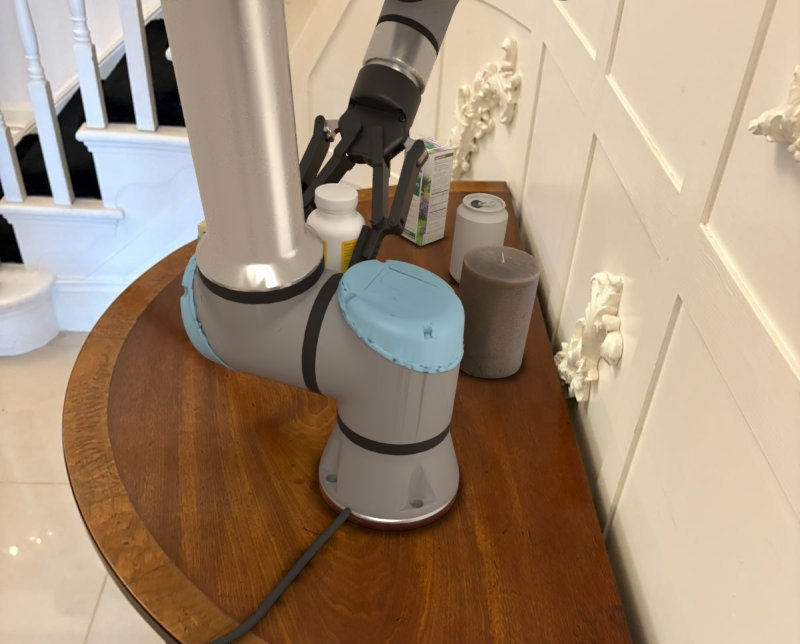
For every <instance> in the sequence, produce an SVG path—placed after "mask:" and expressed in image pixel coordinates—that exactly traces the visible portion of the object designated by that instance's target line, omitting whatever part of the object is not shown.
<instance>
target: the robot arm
mask: <svg viewBox="0 0 800 644" xmlns="http://www.w3.org/2000/svg"><path fill="white" fill-rule="evenodd" d="M559 1H562V2H566V1H568V0H559ZM159 2H160V7H161V11H162V17H163V22H164V26H165V31H166V37H167V41H168V46H169V50H170V51H169V52H170V54H171V55H170V56H171V61H172V65H173V70H174V75H175V81H176V85H177V89H178V95H179V99H180V105H181V108H182V114H183V119H184V125H185V129H186V133H187V138H188V143H189V148H190V153H191V159H192V164H193V168H194V172H195V177H196V182H197V183H196V184H197V187H198V192H199V197H200V203H201V207H202V212H203V216H204V220H205V222H206V227H207V232H206V233H205V234H204V235H203V237H202V238H201V239H200V241H199V242H198V241H197V245H196V247H195V252H194V254H193V255H192V256H191V257H190V258H189V261H188V263H187V265H186V267H185V269H184V272H183V276H182V280H181V286H182V287H183V288H184V293H183V294H182V295H181V296H180V301H179V302H180V313H181V319H182V323H183V327H184V330H185V332H186V334H187V336H188V339H189V341H190V342H191V344H192V345H193V347H194V348H195V349H196V351H197V352H198V353H199V354H201V356H203V357H204V358H206V359H208V360H210V361H212V362H214V363H217V364H219V365H222V366H224V367H225V368H228V369H229V370H231V371H234V372H238V373H243V374H248V375H252V376H255V377H258V378H261V379H266V380H269V381H271V382H276V383H279V384H283V385H287V386H290V387H292V388H293V387H294V388H297V389H301V390H305V391H307V392H311V393H315V394H317V395H321V396H325V397H328V398H331V399H334V400H336V421H335V423H334V426H333V429H332V431H331V432H330V436H329V438H328V440H327V442H326V445H325V447H324V450H323V452H322V453H321V457H320V461H319V465H318V488H319V490H320V494H321V496H322V498H323V499H324V501H325V503H327V505H328V506H329V507H330V508H331V509H332V510H333V511H334V512H335V513H336V514H338V516H337V517H335V519H334V520H333V521H332V522H331V523H330V524H329V525H328V526H327V527H326V528H325V530H324V531H323V532H322V533H321V534H320V535H319V536H318V537H317V539H315V541H314V542H313V543H312V544H311V545H310V546H309V548H308V549H307V550H306V551H305V552H304V553H303V554H302V555H301V556H300V557H299V559H298V560H297V561H296V562H295V564H294V565H292V566H291V568H290V569H289V570H288V572H287V573H286V574H285V575H284V576H283V577H282V579H280V581H279V582H278V583H277V584H276V585H275V587H273V589H272V590H271V592H269V594H268V596H267V597H266V598H265V599H264V600H263V602H262V603H261V604H260V605H259V607H258V608H257V609H256V610H255V611H254V612H253V613H252V615H250V616H249V617H248V618H247V619H246V620H245V621H244V622H243V623H242V624H240V625H239V626H237V627H236V628H235V629H233V630H231V631H229V632H228V633H226V634H224V635H222V636H220V637H217V638H216V639H214V640H212V641H210V642H208V643H207V644H232V643H234V642H235V641H237V640H238V639H240V638H242V637H243V636H244V635H246V634H247V633H248V632H249V631H251V630H252V629H253V628H254V627H255V626H256V625H257V624H258V623H259V622H260V621H261V620H262V619H263V618H264V617H265V616H266V614H267V613H268V612H269V611H270V610H271V608H273V606H274V604H275V603H276V602H277V601H278V599H279V598H280V597H281V595H282V594H283V593H284V592H285V590H286V589H287V588H288V587H289V586H290V584H291V583H292V582H294V580H295V579H296V578H297V576H298V575H299V574H300V573H301V571H302V570H303V569H304V568H305V567H306V565H307V564H308V563H309V562H310V561H311V560H312V559H313V557H314V556H315V555H316V554H317V553H318V552H319V551H320V549H321V548H322V547H323V546H324V545H325V543H327V542H328V541H329V539H331V537H332V536H333V535H334V534H335V532H336V531H337V530H338V529H339V528H340V527H341V526H342V525H343V524H344V523H345V522H346V520H347V521H349V522H352V523H354V524H357V525H359V526H362V527H365V528H369V529H373V530H374V529H375V530H382V531H405V530H412V529H413V530H414V529H417V528H420V527H421V528H422V527H424V526H427V525H429V524H431V523H433V522H435V521H437V520H438V519H440V518H441V517H443V516H444V515H445V514H447V512H448V511H449V510H450V509H451V508H452V507H453V505H454V503H455V501H456V499H457V496H458V492H459V484H460V469H459V463H458V458H457V455H456V450H455V447H454V443H453V440H452V439H453V438H452V434H451V425H452V417H453V412H454V404H455V399H456V392H457V385H458V379H459V374H460V369H459V367H460V361H461V359H462V357H463V353H464V350H463V348H464V344H463V340H464V339H463V333H464V322H465V315H464V309H463V306H462V303H461V301H460V299H459V297H458V294H456V292H455V290H454V289H453V287H452V286H451V285H449V283H448V282H447V281H445V280H444V279H443V278H441V277H440V276H438V275H437V274H435V273H433V272H432V271H430V270H428V269H426V268H423V267H421V266H418V265H416V264H412V263H410V262H407V261H401V260H396V259H395V260H394V259H386V260H385V262H383V261H380V260H379V259H377V257H378V255H379V251H380V248H381V246H382V243H383V241H384V239H385V237H386V236H389V235H395V236H402V235H401V234H402V233H403V232H404V228H405V224H406V221H407V217H408V213H409V209H410V206H411V202H412V198H413V194H414V191H415V187H416V183H417V179H418V175H419V172H420V170H421V169H422V167H423V166H424V164H425V162H426V161H427V159H428V157H429V154H428V151H427V149H426V146H425V144H424V141H423V140H420V139H419V138H418V139H419V140H416V141H415V139H413V138H411V137H410V131H411V128H412V127H413V125H414V121H415V118H416V116H417V113H418V111H419V108H420V105H421V103H422V96H423V94H424V93H425V91H426V89H427V86H428V83H429V80H430V77H431V74H432V72H433V69H434V66H435V63H436V62H437V61H436V60H437V58H438V56H439V53H440V50H441V48H442V44H443V42H444V39H445V36H446V34H447V31H448V29H449V26H450V24H451V21H452V18H453V16H454V13H455V11H456V8H457V6H458V4H459V3H460V0H384V2H383V4H382V7H381V9H380V13H379V16H378V19H377V22H376V24H375V26H374V30H373V32H372V35H371V38H370V41H369V43H368V46H367V49H366V51H365V54H364V56H363V59H362V62H361V63H362V64H361V66H362V67H361V68H360V69H359V70H358V73H357V76H356V78H355V82H354V84H353V87H352V89H351V93H350V95H349V99H348V103H347V108H346V110H345V111H344V112H343V114H341V115H340V117H339V118H338V119H326V118H325V116H324V115H323V114H319V115H317V116H316V117H315V118H314V124H313V131H312V136H311V138H310V140H309V142H308V144H307V146H306V148H305V150H304V153H303V155H302V157H301V159H300V158H299V157H300V156H299V155H300V154H299V147H298V146H299V145H298V135H297V123H296V114H295V103H294V93H293V82H292V72H291V60H290V50H289V48H290V47H289V40H288V39H289V37H288V30H287V16H286V6H285V0H159ZM338 134H340V138H341V139H340V140H339V141H338V143H336V146H335V147H334V149H333V153H332V154H331V157H330V158H329V159H328V161H327V162H326V163H325V165H324V166H323V163H324V161H325V159H326V158H327V155H328V153H329V150H330V146H331V143H334V142H335V138H336V136H337V135H338ZM402 152H404V153H403V156H404V155H405V159H404V158H403V162H402V165H401V170H400V173H399V178H398V182H397V185H396V189H395V193H394V196H393V199H392V203H391V208H390V211H389V194H390V193H389V191H390V179H391V167H392V166H391V165H392V160H393V159H395V157H397V156H398V155H400V154H401V153H402ZM356 164H357V165H367V166H368V167H370V168H372V177H371V178H372V180H371V181H372V184H371V211H370V213H371V214H370V215H371V216H370V219H369V220H368V221H369V224H370V225H371V227H370V226H369V225H363V227H362V229H361V232H360V235H359V238H358V240H357V243H356V246H355V248H354V251H353V254H352V257H351V259H350V262H349V265H348V268H347V270H346V272H345V273H344V274H343V273H341V272H337V271H333V270H329V269H327V268H326V267H325V259H324V247H323V242H322V239H321V237H320V235H319V233H318V232H317V231H316V230H315V229H314V228H313V227H312V226H310V225H309V224H307V218H308V216H309V215H310V213H311V212H312V211H314V210H315V209H317V206H316V203H315V190H316V188H317V187H319V186H321V185H324V184H331V183H337V184H340V183H341V180H342V179H343V178H344V176H345V175H346V174H347V173H348V172H350V171H352V169H354V167H355V166H356ZM322 166H323V167H322ZM321 167H322V169H321Z"/></svg>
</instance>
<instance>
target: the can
mask: <svg viewBox="0 0 800 644" xmlns="http://www.w3.org/2000/svg"><path fill="white" fill-rule="evenodd" d="M506 206H507V205H506V202H505V200H503V199H502V198H501V197H499V196H497V195H494V194H490V193H484V192H483V193H482V192H477V193H470V194H467V195H465V196H464V197H463V198H462V203H461V204H459V205H458V207H457V208H456V214H455V223H454V230H453V238H452V247H451V255H450V264H449V274H450V275H451V277H452V278H453V279H454V280H455V281H456V282H457V283H458V284H460V278H461V272H462V265H463V259H464V256H465V254H466V252H467V251H469V250H471V249H473V248H476V247H480V246H491V245H500V246H504V243H505V237H506V231H507V226H508V220H509V213H508V211H507V209H506Z"/></svg>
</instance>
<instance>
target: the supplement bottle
mask: <svg viewBox="0 0 800 644" xmlns="http://www.w3.org/2000/svg"><path fill="white" fill-rule="evenodd" d="M315 203H316V206H317V209H315V210H314V211H312V212H311V213H310V215H309V216H308V218H307V224H309V225H310V226H312V227H313V228H314V229H315V230H316V231H317V232H318V233H319V235H320V237H321V239H322V242H323V247H324V259H325V267H326V268H327V269H329V270H333V271H337V272H341V273H343V274H344V273H345V272H346V270H347V268H348V265H349V262H350V259H351V257H352V254H353V251H354V248H355V246H356V243H357V240H358V238H359V235H360V232H361V229H362V227H363V225H366V221H365V218H364V216H363V215H362V214H361V213H360V212H359V211H358V210H357V207H358V204H359V193H358V191H357V189H356V188H355V187H353V186H351V185H348V184H344V183H338V184H337V183H331V184H324V185H321V186H319V187H317V188H316V190H315ZM366 226H367V225H366Z"/></svg>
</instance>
